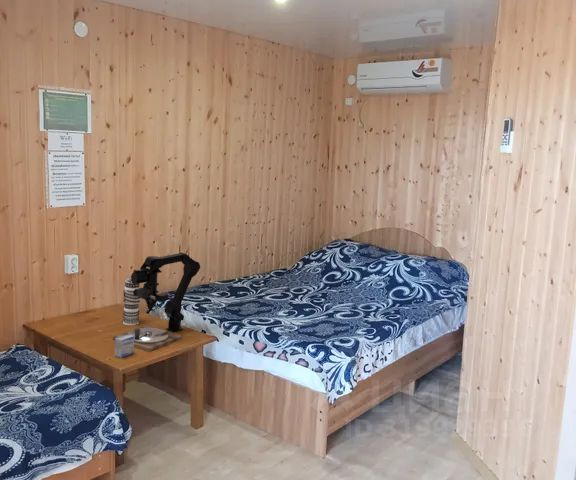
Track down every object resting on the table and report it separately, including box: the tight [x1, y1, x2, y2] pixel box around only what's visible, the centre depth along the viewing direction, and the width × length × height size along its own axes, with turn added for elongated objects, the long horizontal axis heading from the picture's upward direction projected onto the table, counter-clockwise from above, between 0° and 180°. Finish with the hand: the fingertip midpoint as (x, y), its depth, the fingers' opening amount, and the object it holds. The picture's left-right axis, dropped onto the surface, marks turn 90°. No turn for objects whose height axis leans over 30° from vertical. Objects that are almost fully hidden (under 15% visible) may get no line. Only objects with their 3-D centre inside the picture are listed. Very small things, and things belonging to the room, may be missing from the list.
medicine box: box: [114, 335, 135, 359], centre depth 267 cm, size 8×4×9 cm, turn 148°
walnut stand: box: [112, 325, 183, 353], centre depth 289 cm, size 24×24×2 cm
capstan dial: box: [128, 327, 168, 343], centre depth 289 cm, size 20×20×6 cm
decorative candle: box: [122, 276, 141, 326], centre depth 309 cm, size 9×9×25 cm
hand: (150, 310), depth 294 cm, fingers closed
